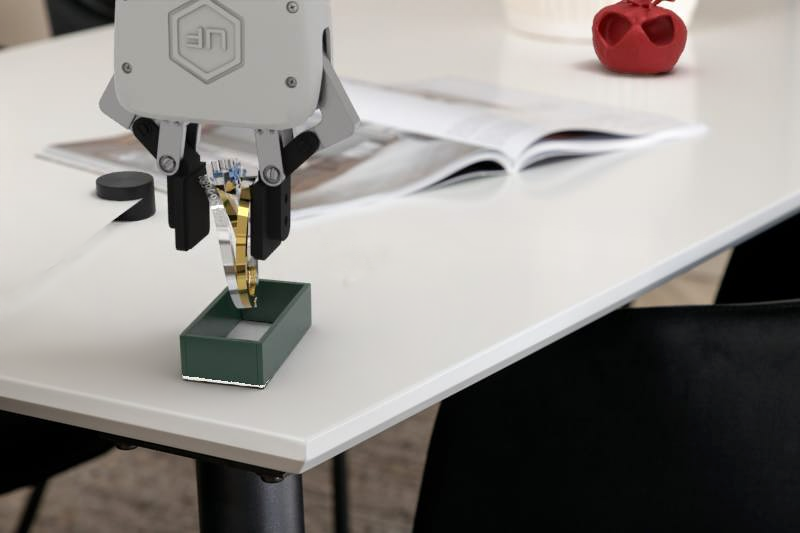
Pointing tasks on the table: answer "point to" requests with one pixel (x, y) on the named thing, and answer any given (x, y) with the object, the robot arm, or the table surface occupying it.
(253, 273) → the ring
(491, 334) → the table surface
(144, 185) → the black round cut piece
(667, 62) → the red rounded hollow piece
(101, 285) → the table surface
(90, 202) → the table surface
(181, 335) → the dark green hollow box
